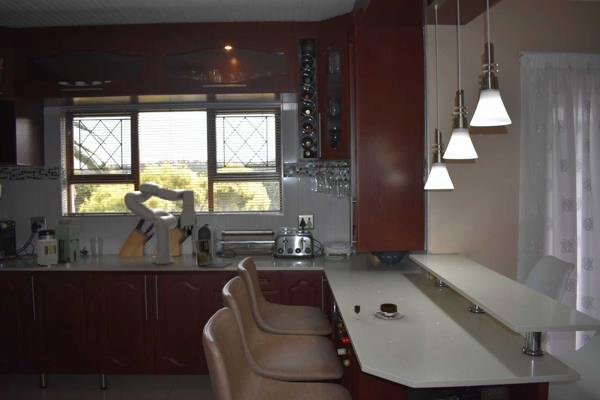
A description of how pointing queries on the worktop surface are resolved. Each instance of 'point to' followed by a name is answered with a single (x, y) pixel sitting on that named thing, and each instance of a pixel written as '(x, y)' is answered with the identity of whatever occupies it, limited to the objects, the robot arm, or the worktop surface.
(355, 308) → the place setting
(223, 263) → the mat
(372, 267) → the worktop surface
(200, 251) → the coffee box
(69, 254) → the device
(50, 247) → the supplement box
